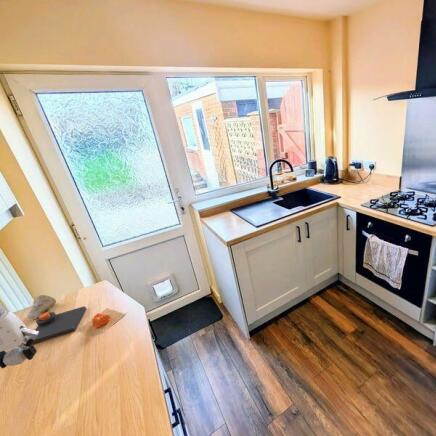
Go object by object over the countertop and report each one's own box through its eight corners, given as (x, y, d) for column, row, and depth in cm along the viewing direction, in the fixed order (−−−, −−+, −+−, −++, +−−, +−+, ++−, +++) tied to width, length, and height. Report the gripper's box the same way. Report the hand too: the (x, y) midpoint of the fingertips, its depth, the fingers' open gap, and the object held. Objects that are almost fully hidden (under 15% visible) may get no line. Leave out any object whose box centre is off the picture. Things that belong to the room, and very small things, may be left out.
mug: (23, 323, 104) (19, 300, 105) (51, 315, 114) (47, 293, 115) (35, 320, 103) (31, 297, 103) (62, 312, 112) (58, 290, 113)
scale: (26, 346, 93) (21, 340, 91) (44, 321, 104) (40, 315, 103) (75, 331, 97) (70, 325, 96) (87, 308, 109) (83, 302, 107)
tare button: (39, 322, 99) (37, 318, 99) (43, 316, 102) (41, 313, 101) (48, 319, 100) (46, 316, 100) (52, 314, 103) (49, 311, 102)
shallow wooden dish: (107, 308, 107) (102, 301, 105) (125, 314, 103) (121, 306, 101) (77, 330, 97) (72, 322, 96) (96, 338, 93) (91, 330, 91)
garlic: (37, 355, 76) (28, 343, 74) (15, 371, 71) (4, 359, 69) (26, 350, 78) (17, 338, 76) (3, 366, 73) (-7, 354, 71)
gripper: (-72, 338, 61) (-26, 383, 69) (15, 315, 66) (48, 359, 74) (-47, 316, 67) (-8, 360, 75) (30, 297, 72) (59, 339, 80)
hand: (20, 359), depth 74 cm, fingers closed on garlic, 5 cm apart
